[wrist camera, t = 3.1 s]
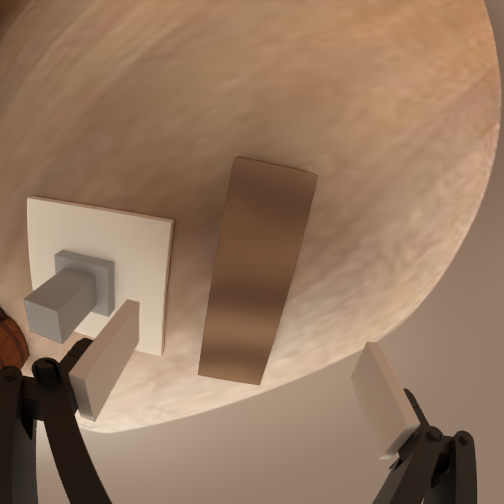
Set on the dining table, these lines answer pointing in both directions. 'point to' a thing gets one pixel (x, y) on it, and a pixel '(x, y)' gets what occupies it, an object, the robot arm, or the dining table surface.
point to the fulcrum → (96, 269)
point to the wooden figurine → (11, 343)
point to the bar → (253, 267)
